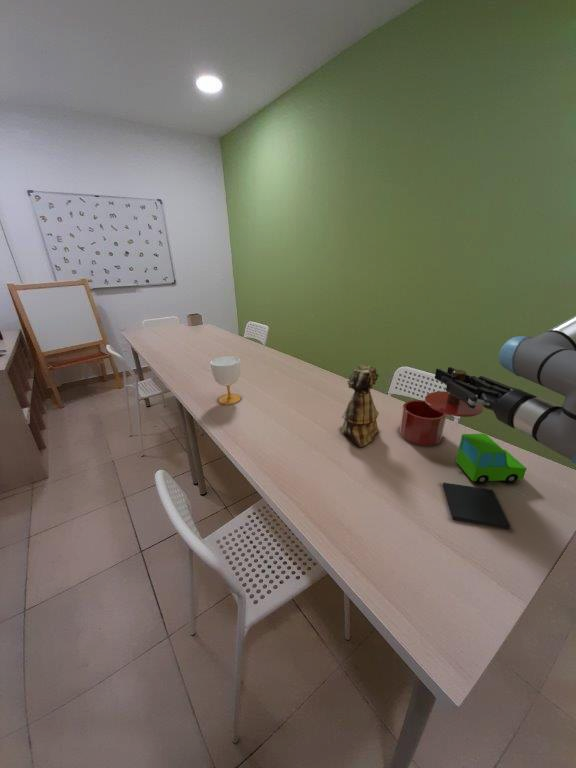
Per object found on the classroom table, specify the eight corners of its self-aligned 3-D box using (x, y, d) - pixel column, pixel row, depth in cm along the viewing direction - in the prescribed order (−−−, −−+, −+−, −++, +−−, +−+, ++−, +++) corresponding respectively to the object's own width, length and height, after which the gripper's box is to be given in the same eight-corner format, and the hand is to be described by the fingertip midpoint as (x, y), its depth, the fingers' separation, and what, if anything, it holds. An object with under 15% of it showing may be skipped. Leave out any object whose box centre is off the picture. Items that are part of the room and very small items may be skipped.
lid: (473, 397, 83) (481, 364, 79) (489, 422, 71) (500, 384, 67) (421, 393, 86) (426, 361, 82) (428, 415, 74) (435, 379, 70)
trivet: (491, 492, 74) (492, 489, 74) (509, 529, 64) (510, 525, 64) (442, 485, 77) (443, 482, 76) (452, 519, 67) (453, 516, 66)
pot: (437, 427, 102) (442, 402, 98) (445, 448, 91) (451, 421, 87) (398, 422, 105) (401, 398, 101) (401, 443, 94) (405, 416, 90)
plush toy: (323, 432, 99) (343, 365, 86) (342, 416, 109) (362, 354, 97) (362, 454, 92) (389, 385, 80) (378, 435, 103) (404, 371, 90)
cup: (231, 391, 133) (227, 354, 126) (249, 398, 126) (246, 360, 119) (209, 400, 125) (204, 362, 118) (227, 408, 118) (222, 368, 111)
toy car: (526, 486, 76) (538, 453, 72) (473, 487, 76) (483, 455, 72) (499, 460, 85) (509, 430, 81) (453, 462, 85) (460, 432, 81)
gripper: (488, 436, 59) (414, 389, 80) (551, 423, 63) (464, 381, 84) (498, 402, 56) (418, 362, 77) (563, 391, 60) (470, 356, 81)
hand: (442, 372), depth 80 cm, fingers closed on lid, 3 cm apart
